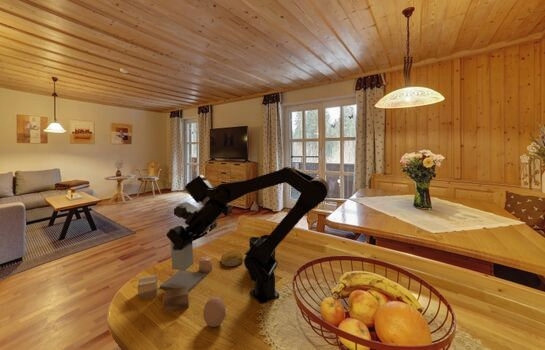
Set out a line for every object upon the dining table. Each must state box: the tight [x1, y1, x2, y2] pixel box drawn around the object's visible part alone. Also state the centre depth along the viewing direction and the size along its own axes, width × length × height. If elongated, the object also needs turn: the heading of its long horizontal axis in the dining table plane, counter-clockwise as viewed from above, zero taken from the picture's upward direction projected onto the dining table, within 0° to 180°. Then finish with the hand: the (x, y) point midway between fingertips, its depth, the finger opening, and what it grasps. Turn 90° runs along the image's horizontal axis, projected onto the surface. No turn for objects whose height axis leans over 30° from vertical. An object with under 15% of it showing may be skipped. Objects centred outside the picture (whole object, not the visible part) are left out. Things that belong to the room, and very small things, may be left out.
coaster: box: [159, 269, 207, 293], centre depth 75 cm, size 10×10×1 cm
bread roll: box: [220, 248, 244, 267], centre depth 88 cm, size 8×9×4 cm
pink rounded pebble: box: [198, 255, 213, 274], centre depth 82 cm, size 4×4×4 cm
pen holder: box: [249, 234, 276, 260], centre depth 84 cm, size 9×9×10 cm
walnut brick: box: [162, 286, 190, 314], centre depth 63 cm, size 6×4×4 cm, turn 110°
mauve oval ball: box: [202, 296, 227, 328], centre depth 55 cm, size 5×5×7 cm
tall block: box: [169, 223, 194, 271], centre depth 74 cm, size 4×4×13 cm
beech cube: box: [137, 274, 159, 301], centre depth 68 cm, size 4×4×4 cm
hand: (179, 246), depth 74 cm, fingers closed on tall block, 4 cm apart
